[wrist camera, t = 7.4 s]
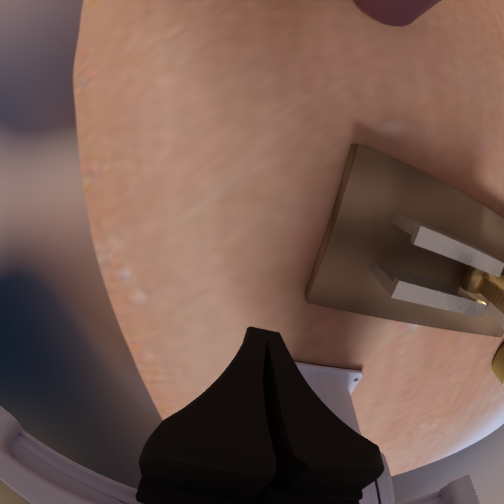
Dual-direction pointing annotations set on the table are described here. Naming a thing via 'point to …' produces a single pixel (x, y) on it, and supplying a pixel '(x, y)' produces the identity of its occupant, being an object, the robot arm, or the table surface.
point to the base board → (398, 242)
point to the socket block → (495, 314)
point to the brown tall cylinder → (499, 364)
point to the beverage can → (395, 10)
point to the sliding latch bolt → (483, 285)
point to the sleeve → (429, 289)
